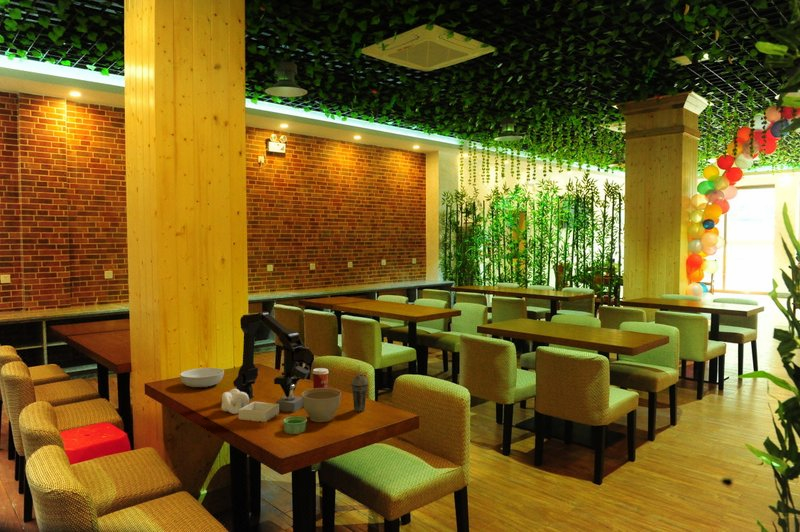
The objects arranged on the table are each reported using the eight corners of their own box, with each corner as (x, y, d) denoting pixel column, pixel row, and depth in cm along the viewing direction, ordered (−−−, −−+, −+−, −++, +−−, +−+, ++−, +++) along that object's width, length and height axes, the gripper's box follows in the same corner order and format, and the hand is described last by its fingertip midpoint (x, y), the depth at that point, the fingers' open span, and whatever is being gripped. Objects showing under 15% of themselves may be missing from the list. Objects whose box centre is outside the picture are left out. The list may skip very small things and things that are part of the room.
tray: (238, 419, 222) (238, 409, 222) (254, 410, 234) (254, 401, 234) (264, 422, 219) (264, 412, 219) (279, 413, 231) (279, 404, 231)
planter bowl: (293, 419, 223) (293, 393, 223) (322, 410, 236) (323, 385, 235) (319, 428, 213) (319, 401, 213) (348, 418, 225) (349, 392, 225)
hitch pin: (282, 409, 237) (282, 385, 236) (287, 406, 241) (287, 383, 241) (292, 410, 235) (292, 386, 235) (296, 407, 240) (297, 383, 239)
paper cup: (325, 402, 248) (325, 372, 247) (309, 400, 250) (309, 370, 249) (330, 397, 256) (331, 368, 255) (315, 396, 257) (315, 367, 257)
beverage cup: (370, 408, 239) (370, 364, 238) (363, 413, 232) (364, 367, 231) (355, 407, 242) (355, 362, 241) (348, 411, 235) (348, 366, 234)
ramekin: (285, 436, 204) (285, 424, 204) (281, 428, 212) (281, 417, 212) (309, 433, 208) (309, 422, 208) (303, 425, 216) (303, 415, 216)
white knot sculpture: (213, 411, 232) (213, 390, 232) (237, 405, 241) (237, 385, 241) (227, 417, 225) (227, 396, 224) (252, 410, 234) (252, 390, 233)
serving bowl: (207, 378, 288) (207, 365, 287) (232, 384, 275) (232, 371, 275) (171, 386, 271) (171, 372, 271) (196, 393, 259) (196, 379, 258)
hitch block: (275, 410, 235) (275, 401, 235) (285, 404, 244) (285, 395, 244) (294, 412, 233) (294, 403, 232) (303, 406, 241) (303, 397, 241)
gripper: (297, 366, 226) (297, 403, 227) (316, 357, 244) (315, 392, 245) (273, 364, 229) (273, 401, 230) (293, 356, 247) (293, 389, 248)
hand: (289, 395), depth 238 cm, fingers closed on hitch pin, 4 cm apart
